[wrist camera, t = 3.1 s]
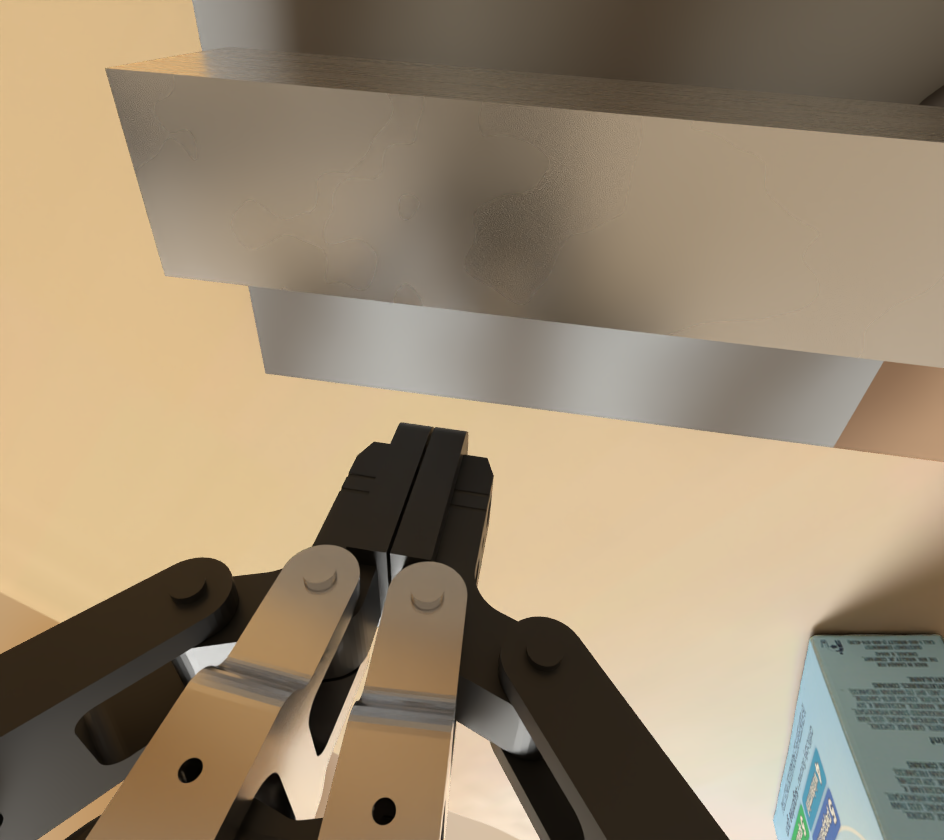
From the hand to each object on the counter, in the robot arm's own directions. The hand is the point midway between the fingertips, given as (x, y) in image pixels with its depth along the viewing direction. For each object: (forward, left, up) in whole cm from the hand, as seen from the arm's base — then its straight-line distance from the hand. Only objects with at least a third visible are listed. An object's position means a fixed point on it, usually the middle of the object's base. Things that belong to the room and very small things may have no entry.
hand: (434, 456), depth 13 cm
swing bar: (+4, +6, -2) cm, 7 cm away
